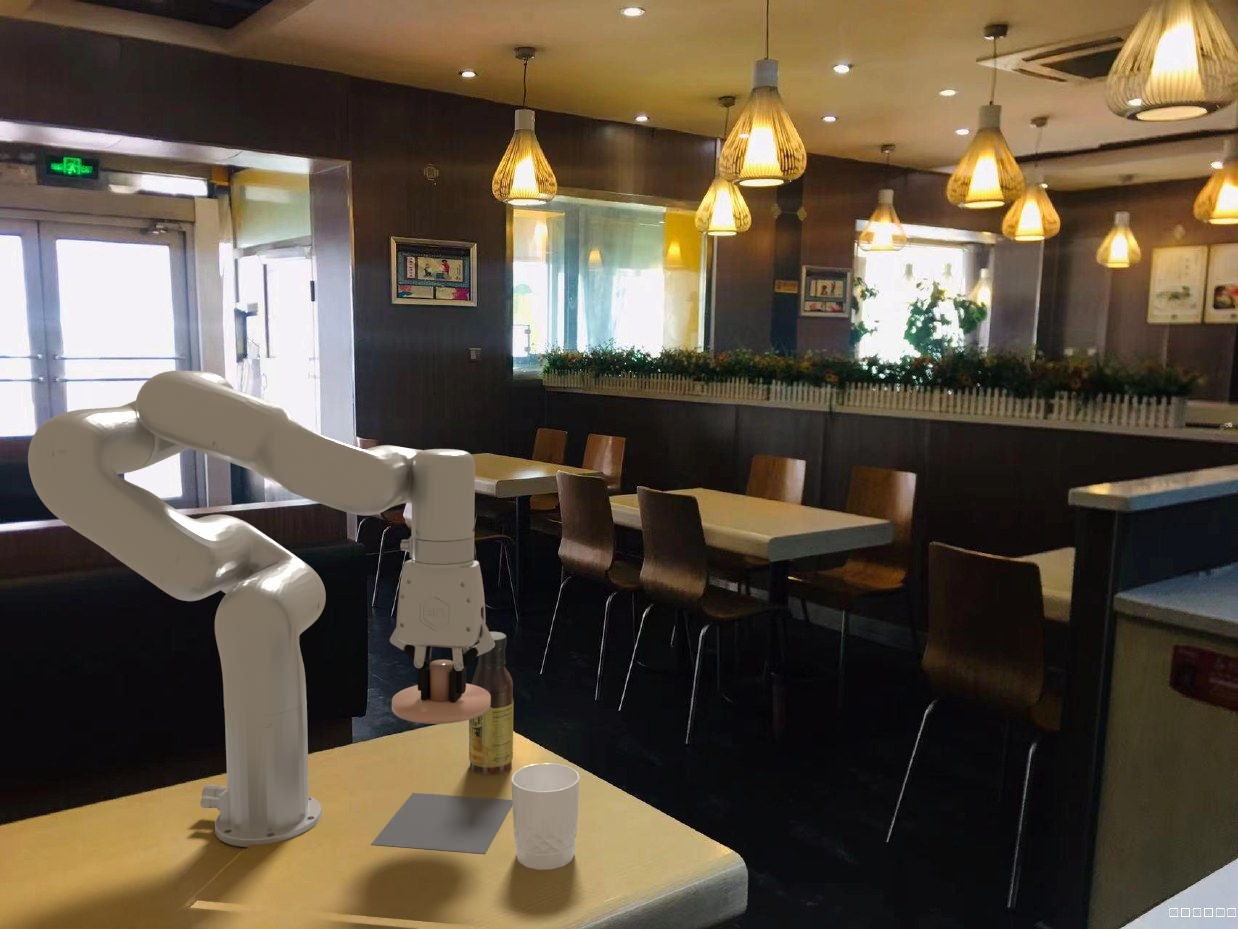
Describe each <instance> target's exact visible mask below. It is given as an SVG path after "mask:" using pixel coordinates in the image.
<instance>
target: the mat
mask: <svg viewBox="0 0 1238 929" xmlns="http://www.w3.org/2000/svg"><path fill="white" fill-rule="evenodd" d="M511 808H513V804H512V799H503V798H488V797H476V796H475V797H473V796H463V795H462V796H460V795H450V794H449V795H448V794H434V793H433V794H432V793H422V792H421V793H420V792H412V793H411V794H410V795H409V796H408V798H407V799H406V800H405V802H404V803H403V804H402V805H401V806H400V808H399V809H398V810H397V811H396V813H395V814H394V815H393V816H392V817H391V819H390V820H389V822H388V823H387V824H386V825H385V826H384V828H382V830H381V831H380V832H379V834H378V835H377V836H376V837H375V839H374V840H373V841H372V842H371V843H370V846H380V847H392V848H394V847H395V848H404V849H405V848H406V849H407V848H408V849H418V850H419V849H420V850H428V851H430V850H431V851H440V852H442V851H443V852H452V853H453V852H455V853H466V854H467V853H468V854H478V855H480V854H481V855H486V854H487V851H488V849H490V846H491V845H492V842H493V841H494V839H495V837H496V835H497V834H498V832H499V830H500V828H501V827H502V824H503V823H504V821H505V819H506V817H507V816H508V814H509V812H510V811H511Z"/></svg>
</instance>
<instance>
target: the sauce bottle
mask: <svg viewBox="0 0 1238 929" xmlns="http://www.w3.org/2000/svg"><path fill="white" fill-rule="evenodd" d="M489 632H490V634H491V636H492V638H493V640H494V642H495V646H494V647H493V648H492V649H491V650H490V651H488V652H486V653H484V654H481V655H479V656H478V662H477V666H476V669H475V672H474V676H473V678H472V680H471V683H470V684H472V685H476V686H479V687H481V688H483V689H485V690H487V691H488V692H489V693H490V695H491V706H490V708H489V710H488V711H487V712H485V713H484V714H482V715H481V716H478V717H476V718H473V719H470V720H468V759H469V762H470V764H469V767H470V770H471V771H473V772H474V773H477V774H479V775H489V776H490V775H497V774H502V773H505V772H508V771H509V770H510V769H511V768H512V766H513V759H514V758H513V757H514V752H513V751H514V697H513V696H514V695H513V692H514V691H513V690H514V683H513V678H512V676H511V673H510V672H509V671H508V669H507V667H506V662H507V661H506V647H507V635H506V634H505V633H503V632H501V631H499V632H498V631H489ZM477 644H479V639H478V641H477V642H476V645H477Z"/></svg>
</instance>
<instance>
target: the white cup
mask: <svg viewBox="0 0 1238 929" xmlns="http://www.w3.org/2000/svg"><path fill="white" fill-rule="evenodd" d="M510 780H511V800H512V804H513V805H512V818H513V831H514V832H513V833H514V840H515V851H516V852H515V855H516V858H517V862H519V863H520V864H521V865H522V866H524V867H525V868H529V869H533V870H534V869H535V870H536V871H537V870H540V871H541V870H553V869H559V868H562V867H564V866H566V865H568V864H570V863H571V862H572V861H573V860H574V857H575V855H576V837H577V830H578V827H577V826H578V825H577V824H578V816H579V795H580V774H579V772H578V771H577V770H576V769H574V768H573V767H571V766H568V765H565V764H561V763H554V762H553V763H551V762H547V763H545V762H543V763H535V764H529V765H526V766H522V767H521V768H519V769H517V770H516V771H515V772H513V774H512V775H511V779H510Z"/></svg>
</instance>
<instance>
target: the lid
mask: <svg viewBox="0 0 1238 929" xmlns="http://www.w3.org/2000/svg"><path fill="white" fill-rule="evenodd" d="M453 664H454V663H453V660H450V659H435V660H433V661H432V662H430V689H429V698H428V699H426V700H421V691H418V684H415V685H413V686H410V687H407V688H404V689H402V690H400V691H398V692H396V693H395V694H394V695H393V697H392V698H391V711H392V713H393V714H394V715H395V716H396V717H397V718H400V719H402V720H405V721H407V722H413V723H417V724H426V725H429V724H430V725H441V724H443V725H444V724H453V723H460V722H466V721H469V720H470V719H473V718H476V717H478V716H481V715H482V714H484V713H485V712H487V711H488V710H489V708H490V706H491V695H490V693H489V692H488V691H487V690H485V689H483V688H481V687H479V686H476V685H472V684H471V683H467V682H466V690H465V693H464V694H462V696H461V697H460V698H459V699H458V700H457V701H456V702H455V703H454V702H451V701H449V673H450V671H451V670H452V669H453Z"/></svg>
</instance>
